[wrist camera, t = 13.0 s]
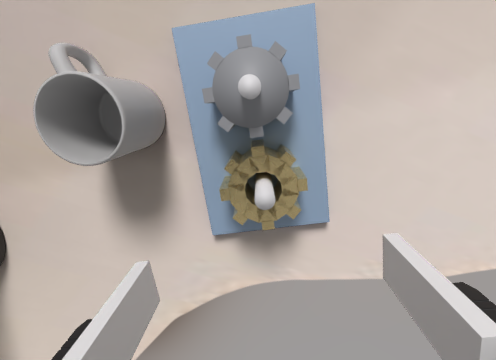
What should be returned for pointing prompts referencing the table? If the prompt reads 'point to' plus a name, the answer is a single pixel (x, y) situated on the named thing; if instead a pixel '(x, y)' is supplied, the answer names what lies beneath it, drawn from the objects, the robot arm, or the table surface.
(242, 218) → the brass gear
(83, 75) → the mug
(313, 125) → the gear board
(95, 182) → the table surface
